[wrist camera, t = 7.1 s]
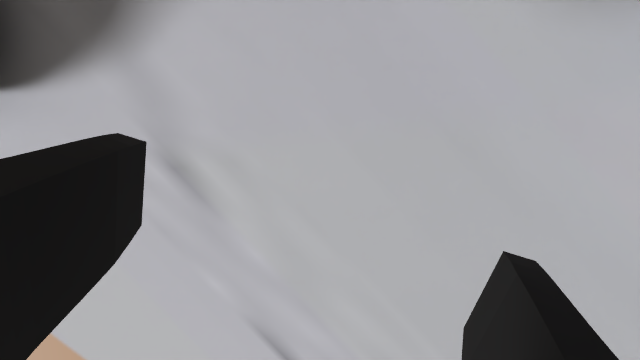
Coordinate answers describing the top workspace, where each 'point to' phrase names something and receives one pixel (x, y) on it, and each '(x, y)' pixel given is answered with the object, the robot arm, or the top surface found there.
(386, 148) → the top surface
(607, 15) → the top surface
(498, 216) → the top surface
